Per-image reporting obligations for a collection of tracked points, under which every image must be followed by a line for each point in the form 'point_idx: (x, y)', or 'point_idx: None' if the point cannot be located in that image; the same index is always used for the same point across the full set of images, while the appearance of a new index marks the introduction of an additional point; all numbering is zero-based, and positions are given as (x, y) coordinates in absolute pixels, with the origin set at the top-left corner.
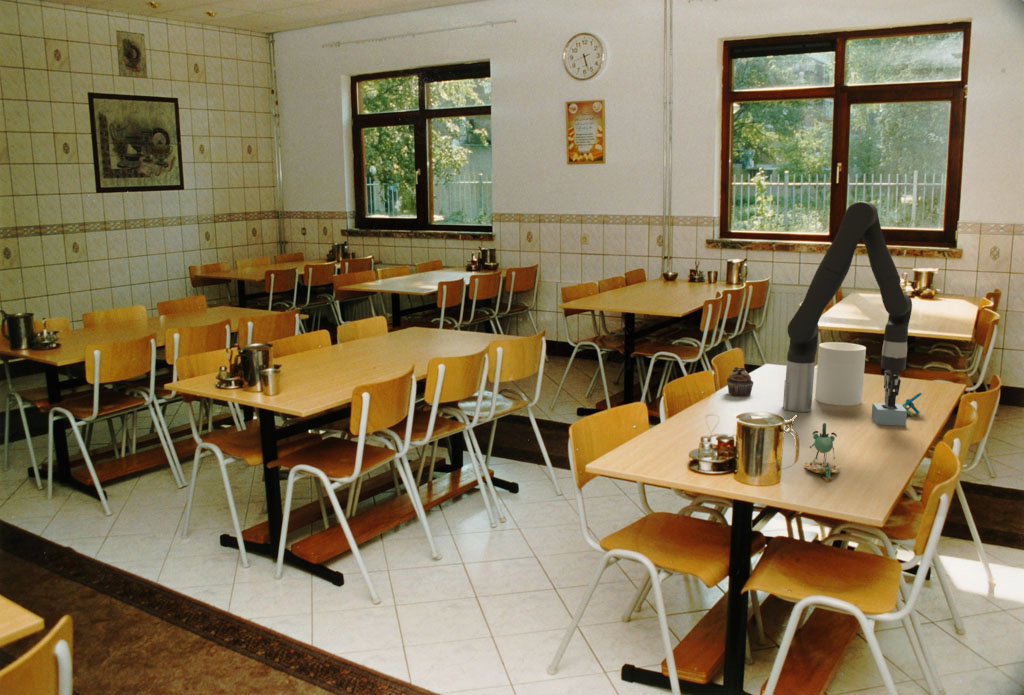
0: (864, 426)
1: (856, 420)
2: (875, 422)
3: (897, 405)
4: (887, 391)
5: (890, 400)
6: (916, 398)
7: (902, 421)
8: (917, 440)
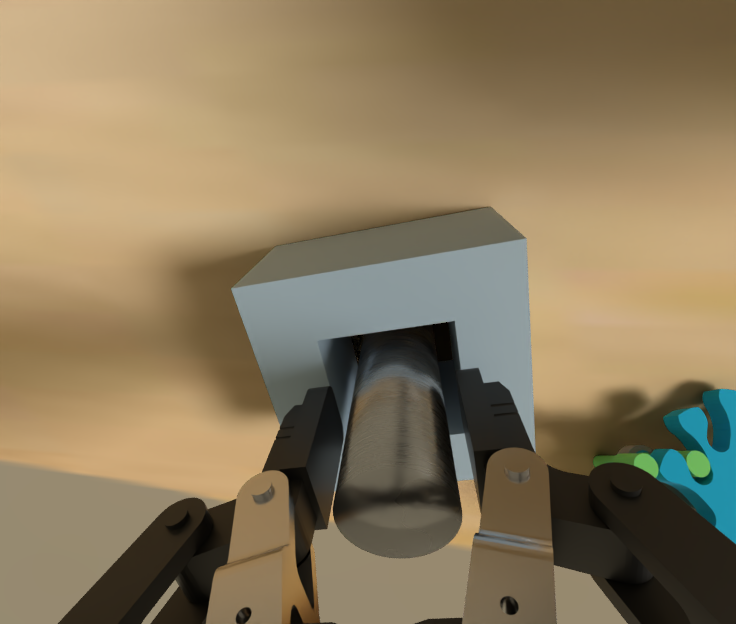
0: (159, 156)
1: (324, 77)
2: (315, 239)
3: None
4: (442, 484)
5: (272, 448)
6: None
7: None
8: (48, 444)
